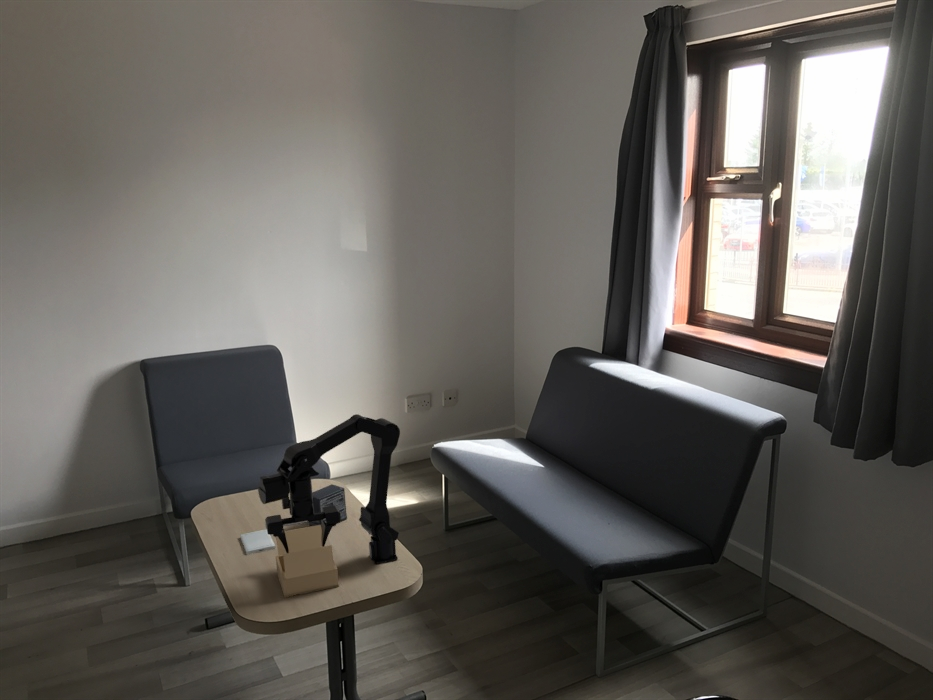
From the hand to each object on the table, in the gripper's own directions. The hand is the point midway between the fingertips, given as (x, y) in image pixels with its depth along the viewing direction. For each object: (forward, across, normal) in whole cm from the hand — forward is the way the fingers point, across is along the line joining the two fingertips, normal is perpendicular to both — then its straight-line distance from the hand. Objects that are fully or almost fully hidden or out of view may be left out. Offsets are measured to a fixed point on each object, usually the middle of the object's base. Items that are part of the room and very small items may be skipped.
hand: (305, 549), depth 205 cm
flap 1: (+2, 0, -10) cm, 10 cm away
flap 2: (+1, 0, +5) cm, 5 cm away
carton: (+9, 0, -1) cm, 9 cm away
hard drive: (+10, +10, -29) cm, 32 cm away
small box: (+9, -12, -35) cm, 38 cm away
